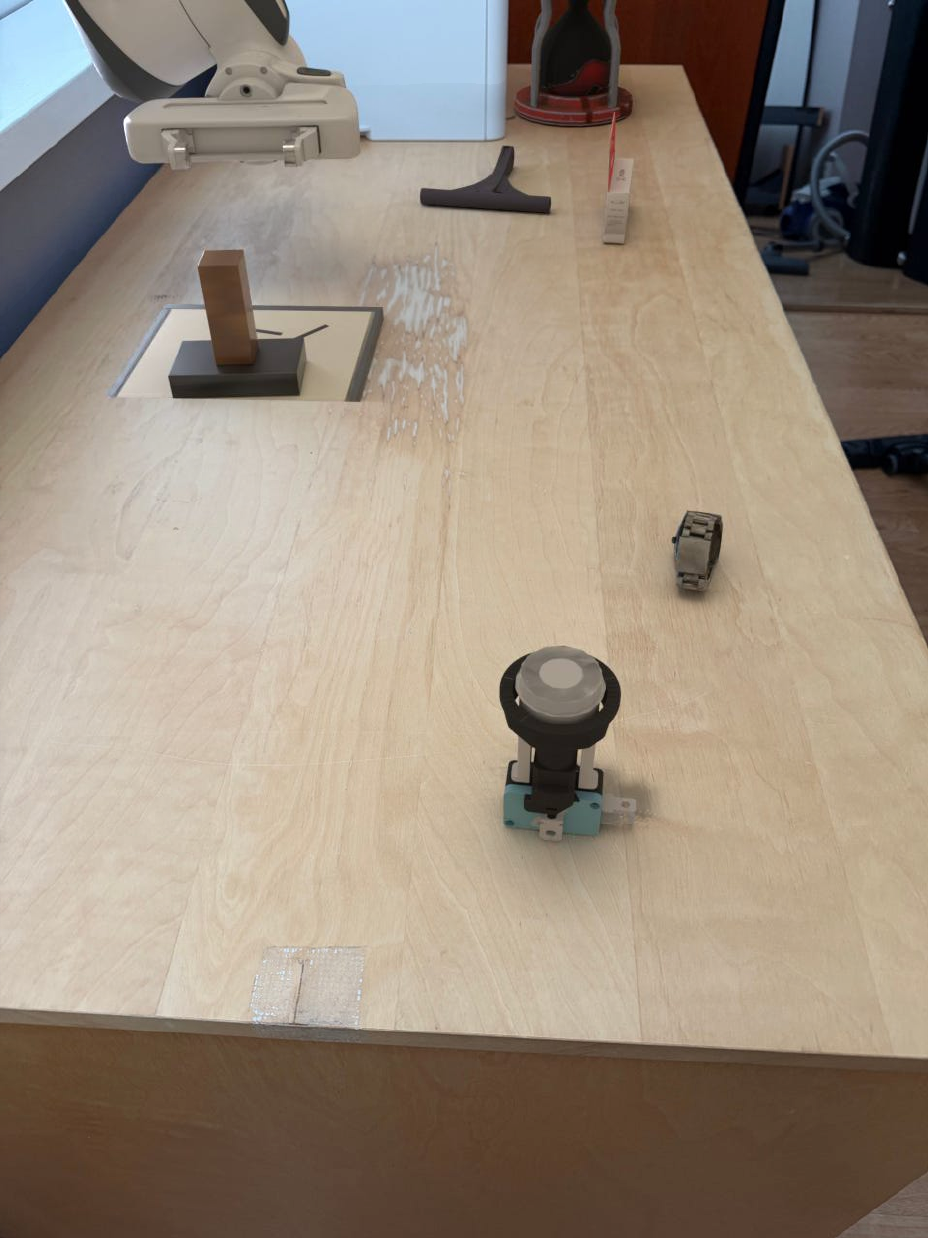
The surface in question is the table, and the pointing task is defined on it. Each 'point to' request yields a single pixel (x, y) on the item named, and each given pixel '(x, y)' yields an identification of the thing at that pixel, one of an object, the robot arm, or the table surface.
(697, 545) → the wristwatch
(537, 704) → the push button
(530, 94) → the hourglass
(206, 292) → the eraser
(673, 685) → the table surface
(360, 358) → the whiteboard
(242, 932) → the table surface
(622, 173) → the ink cartridge box
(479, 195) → the squeegee
